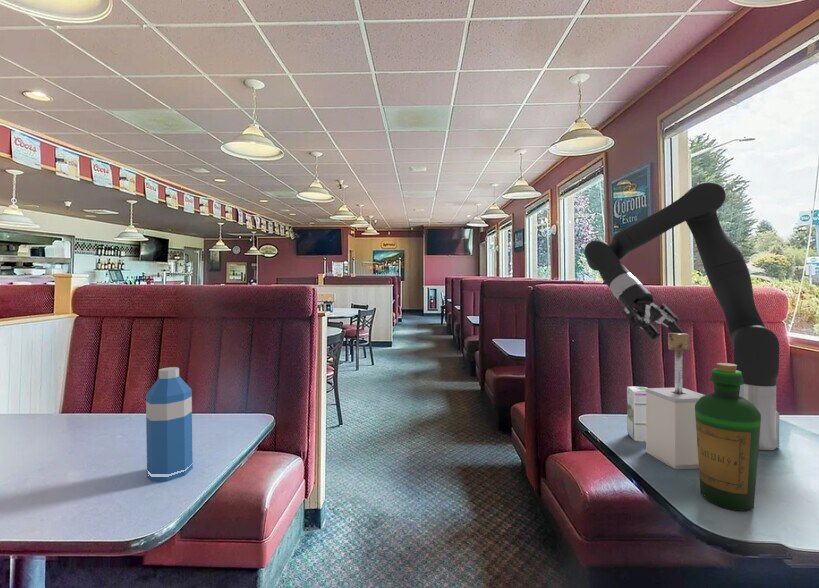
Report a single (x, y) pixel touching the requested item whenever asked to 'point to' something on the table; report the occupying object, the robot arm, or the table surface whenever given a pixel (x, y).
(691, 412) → the white box
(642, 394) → the syrup box
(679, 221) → the robot arm
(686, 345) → the brown round knob
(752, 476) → the bottle
